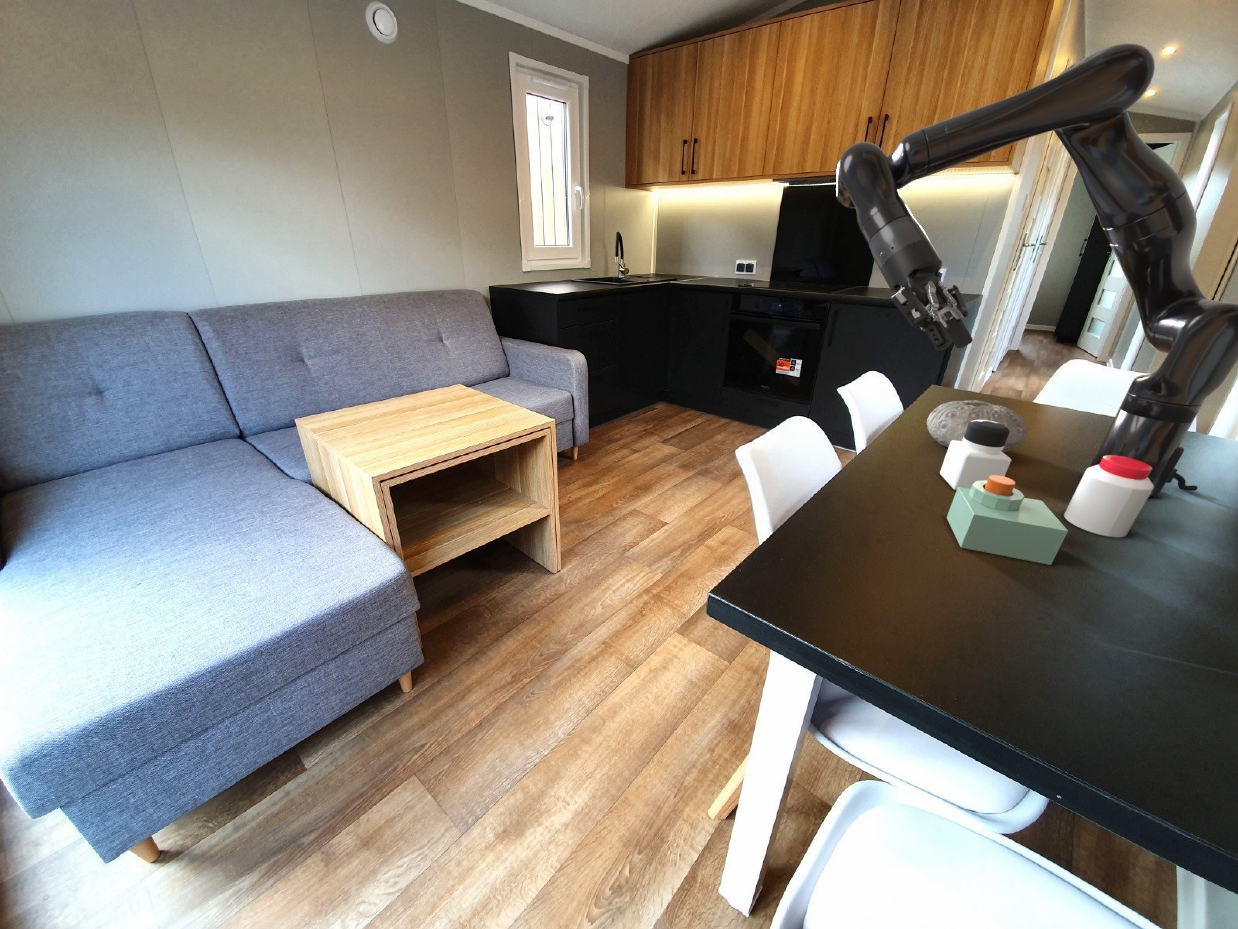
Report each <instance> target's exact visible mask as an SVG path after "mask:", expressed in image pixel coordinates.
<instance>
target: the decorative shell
mask: <svg viewBox="0 0 1238 929" xmlns="http://www.w3.org/2000/svg"><path fill="white" fill-rule="evenodd" d="M974 420H988V421H993V422H997V423H1000V424H1002V425H1004V426H1006V427H1007V428H1008V429H1009V431H1010V433H1009V435H1008V438H1007V440H1006V443H1005V445H1004V448H1003V450H1001V451H1002V452H1003V453H1004V454H1005V453H1007V452H1009V451H1014V450H1015V449H1017V448H1019V447H1020V446H1022V445H1023V443H1024V442H1025V441H1026V439H1027V438H1028V430H1029V427H1028V426H1027V424H1026V423H1025V417H1023V416H1020V415H1018V414H1017V412H1016V411H1015V410H1012V409H1010V408H1009V407H1006V406H1004V405H998V404H993V403H990V402H986V401H982V400H972V399H970V400H953V401H948V402H943V403H942V404H940V405H938V406H937V407H935V408H934V409H933V410H932V411H931V412H930V414H929V415H928V416H927V419H926V427H927V431H928V432H929V434H930V436H931V437H932V438H933V439H934V441H936V442H937V443H938V444H939V445H941V446H944V447H946V448H949V445H950V442H951V441H952V440H955V441H962V440H963V437H964V434H965V432H966V429H967V426H968V423H969V422H971V421H974Z"/></svg>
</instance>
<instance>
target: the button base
mask: <svg viewBox="0 0 1238 929" xmlns="http://www.w3.org/2000/svg"><path fill="white" fill-rule="evenodd" d="M986 483H987V480H982V481H976V482H974V483H973V485H972V487H971V489H968V488H962V487H958V489H957V490H955V491H956V492H955V495H954V496H953V500H952V502H951V505H950V507H949V510H948V513H947V516H946V520H947V521H948V523H949V526H950V527H951V530H952V532H953V534H954V537H955V538H956V540H957V542H958V545H959V547H960V548H962V549H967V550H972V551H977V552H983V553H988V554H992V555H993V554H994V555H997V556H1003V557H1008V558H1012V559H1013V558H1014V559H1018V560H1023V561H1029V562H1033V563H1038V564H1044V565H1049V566H1051V565H1052V564H1053V562H1054V560H1055V558H1056V556H1057V554H1058V552H1059V550H1060V548H1061V546H1062V544H1063V542H1064V540H1065V538H1066V536H1067V534H1068V532H1069V530H1068V528H1066V527H1065V526H1064V524H1063V523H1062V522H1061V521H1060V520H1059V519H1058V517H1056V515H1055V514H1054V513H1053V512H1052V510H1050V508H1049V507H1048V506H1047V505H1046V503H1045V502H1044V501H1042V500H1040V499H1035V498H1034V499H1033V498H1029V497H1028V498H1027V497H1025V495H1024V494H1023V492H1022V491H1020V490H1019V489H1017V488H1015V487H1014V489H1013V491H1012V493H1011V495H1010V496H1002V495H997V494H994V493H991V492H989V491H987V490H985V486H986Z"/></svg>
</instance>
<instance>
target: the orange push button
mask: <svg viewBox="0 0 1238 929" xmlns="http://www.w3.org/2000/svg"><path fill="white" fill-rule="evenodd" d="M1015 486H1016V481H1015V480H1014V479H1012V478H1010V477H1008V476H1007V477H1006V476H1005V477H1004V476H999V475H991V476H989V478H988V481H987V483H986V486H985V490H987V491H989V492H991V493H994V494H997V495H1002V496H1010V495H1011V493H1012V491H1013V489H1014V488H1015Z"/></svg>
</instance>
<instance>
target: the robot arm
mask: <svg viewBox="0 0 1238 929" xmlns="http://www.w3.org/2000/svg"><path fill="white" fill-rule="evenodd" d="M1155 70H1156V66H1155V58H1154V56H1153V54H1152V52H1151V51H1150V50H1149V49H1148V48H1146V47H1145V46H1144V45H1142V44H1138V43H1129V42H1128V43H1127V42H1125V43H1117V44H1114V45H1113V44H1112V45H1109V46H1107V47H1105V48H1102V49H1100V50H1097V51H1095V52H1094V53H1092V54H1090V55H1088V56H1086V57H1084V58H1082V59H1080V60H1078V61H1077V62H1075V63H1073V64H1071V65H1070V66H1068V67H1066V68H1065V69H1064V70H1063V71H1062V72H1061V73H1059V75H1057V76H1055V77H1054V78H1051V79H1049V80H1047V81H1044V82H1043V83H1040V84H1038V85H1036V86H1034V87H1032V88H1029V89H1026V90H1024V91H1022V92H1019V93H1017V94H1014V95H1011V96H1009V97H1007V98H1004V99H1000V100H998V101H995V102H992V103H990V104H986V105H983V106H981V107H978V108H974V109H972V110H968V111H966V112H963V113H959V114H957V115H954V116H951V117H948V118H945V119H942V120H940V121H938V122H935V123H933V124H930V125H927V126H925V127H922V128H920V129H917V130H915V131H912V132H910V133H908V134H906V135H905V136H903V137H902V138H901V139H900V141H899V142H898V144H897V145H896V148H895V149H894V150H893V151H892V153H890V154H889V155H886V153H885V152H884V150H883V149H882V148H881V147H880V146H878V145H877V144H875V143H873V142H870V141H859V142H856V143H854V144H852V145H850V146H848V147H847V149H846V150H844V152H842V155H841V156H840V158H839V160H838V162H837V165H836V166H837V167H836V188H835V190H836V194H835V195H836V198H837V202H838V203H839V204H840V205H841V206H842V207H845V208H848V209H855V211H856V219H857V220H856V221H857V225H858V228H859V230H860V232H861V234H862V236H863V238H864V240H865V242H866V243H867V245H868V248H869V249H870V252H871V255H872V257H873V260H874V262H875V263H876V266H877V267H878V269H879V271H880V273H881V274H882V276H883V279H884V280H885V282H886V284H887V286H888V288H889V289H890V291H891V292H892V293H893V295H892V296H891V297H890V299H891V301H892V302H893V303H894V305H895V306H896V308H897V309H898V310H899V312H900V313H901V314H902V315H903V317H904V318H905V319H906V321H907V322H908V324H909V325H910V326H911V327H912V328H914V329H917V327H919V329H920V330H921V331H923V332H926V335H927V337H928V339H929V340H930V342H931V344H932V345H933V347H934V349H935V350H936V351H938V352H940V351H944V350H945V349H947V348H948V347H951V346H952V344H954V346H955V348H956V349H963V348H965V347H966V346H969V345H970V344H972V343H973V342H974V339H973V337H972V335H971V334H970V331H969V329H968V328H967V327H966V325H965V323H964V321H963V320H965V318H967V317H968V316H969V311H968V309H967V307H966V304H965V301H964V299H963V297H962V294H961V292H960V289H959V287H958V286H957V285H956V284H953V285H952V286H950V287H947V286H946V284H945V283H944V282H943V281H942V280H941V279H940V278H939V276H938V275H939V272H940V271H941V269H942V267H943V260H942V258H941V256H940V255H939V253H938V252H937V250H936V248H935V247H934V245H933V243H932V241H931V240H930V238H929V237H928V235H927V233H926V231H925V230H924V228H923V227H922V225H921V224H920V223H919V222H918V221H917V219H916V218H915V217H914V215H913V214H912V211H911V210H910V209H909V207H908V205H907V203H906V202H905V200H904V199H903V198H902V196H901V193H900V191H899V190H901V189H902V188H904V187H906V186H907V185H909V184H910V183H913V182H914V181H916V180H920V179H923V178H927V177H929V176H932V175H935V174H938V173H940V172H943V171H946V170H949V169H952V168H954V167H956V166H957V167H958V166H960V165H963V164H964V163H967V162H969V161H970V162H971V161H972V160H975V159H978V158H980V157H981V156H984V155H986V154H989V153H991V152H994V151H997V150H999V149H1002V148H1004V147H1007V146H1009V145H1013V144H1015V143H1017V142H1021V141H1024V140H1026V139H1029V138H1032V137H1036V136H1039V135H1042V134H1045V133H1049V132H1054V134H1055V135H1056V136H1057V138H1058V139H1059V141H1060V142H1061V144H1062V146H1063V147H1064V149H1065V150H1066V152H1067V153H1068V154H1069V156H1070V157H1071V159H1072V161H1073V163H1074V164H1075V166H1076V168H1077V170H1078V172H1079V175H1080V176H1081V179H1082V182H1083V184H1084V187H1085V189H1086V192H1087V195H1088V197H1089V199H1090V201H1091V204H1092V207H1093V208H1094V210H1095V212H1096V215H1097V218H1098V221H1099V223H1100V227H1101V228H1102V230H1103V232H1104V234H1105V237H1106V239H1107V242H1108V243H1109V246H1110V247H1111V250H1112V251H1113V253H1114V255H1115V257H1116V259H1117V261H1118V264H1119V266H1120V268H1121V270H1122V273H1123V276H1124V277H1125V279H1126V281H1127V283H1128V285H1129V288H1130V290H1131V291H1132V294H1133V297H1134V300H1135V303H1136V304H1135V305H1136V307H1137V311H1138V314H1139V318H1140V322H1141V326H1142V331H1143V333H1144V334H1143V335H1145V339H1146V341H1147V342H1148V344H1149V346H1151V347H1152V348H1153V349H1154V350H1156V351H1158V352H1160V353H1162V354H1165V355H1166V356H1165V358H1164V360H1163V362H1162V363H1161V365H1160V366H1159V367H1158V369H1157V370H1155V371H1154V372H1152V373H1149V374H1141V375H1138V376H1136V377H1135V378H1134V379H1133V380H1132V382H1131V383H1130V386H1129V388H1128V389H1127V392H1126V393H1125V396H1124V398H1123V400H1122V401H1121V403H1120V405H1119V408H1118V410H1117V411H1116V414H1115V416H1114V418H1113V420H1112V422H1111V424H1110V426H1109V428H1108V430H1107V432H1106V433H1105V436H1104V438H1103V440H1102V442H1101V444H1100V446H1099V448H1098V450H1097V452H1096V454H1095V456H1094V458H1093V460H1092V461H1091V464H1090V466H1089V467H1092V466H1095V465H1099V464H1100V462H1101V460H1102V458H1103V456H1105V455H1116V456H1123V457H1127V458H1132V459H1135V460H1138V461H1141V462H1144V463H1146V464H1148V465H1150V466H1151V467H1152V470H1151V472H1150V474H1149V476H1148V478H1149V479H1150V481H1151V482H1152V484H1153V485H1154V488H1153V490H1152V492H1151V493H1150V495H1149V497H1151V498H1153V497H1154V498H1158V497H1159V495H1160V494H1161V492H1162V490H1163V489H1164V487H1165V485H1166V484H1171V483H1172V481H1173V480H1174V479H1175V480H1176V481H1177V487H1178V489H1180V490H1181V491H1185V492H1187V491H1189V492H1190V491H1192V492H1193V491H1194V492H1195V491H1197V490H1198V486H1197V485H1192V484H1191V485H1186V484H1187V483H1186V479H1185V477H1184V476H1183V475H1181V474H1180V473H1178V469H1176V466H1177V464H1178V463H1179V461H1180V459H1181V458H1182V455H1183V454H1184V452H1185V448H1184V447H1183V446H1181V444H1182V442H1183V440H1184V438H1185V437H1186V435H1187V434H1188V432H1189V430H1190V428H1191V427H1192V424H1193V423H1194V421H1195V419H1196V418H1197V416H1198V414H1199V413H1200V410H1201V409H1202V408H1203V405H1204V403H1205V402H1206V400H1207V398H1208V397H1210V395H1211V394H1214V392H1216V391H1217V390H1218V389H1219V388H1220V387H1221V386H1222V385H1223V384H1224V382H1225V381H1226V380H1227V378H1228V377H1229V375H1230V374H1231V373H1232V371H1233V369H1234V367H1235V366H1236V365H1237V363H1238V303H1236V302H1229V301H1221V300H1214V299H1213V300H1212V299H1208V298H1207V296H1205V295H1204V293H1203V292H1202V290H1201V288H1200V286H1199V285H1198V283H1197V281H1196V278H1195V276H1194V274H1193V271H1192V268H1191V259H1190V258H1191V254H1192V249H1193V245H1194V242H1195V237H1196V233H1197V228H1198V220H1197V214H1196V211H1195V207H1194V205H1193V203H1192V200H1191V197H1190V194H1189V191H1188V189H1187V188H1186V185H1185V183H1184V181H1183V179H1182V177H1181V176H1180V175H1179V173H1178V172H1177V170H1175V169H1174V168H1173V167H1172V166H1171V165H1170V164H1169V163H1168V162H1167V161H1166V160H1165V159H1164V158H1163V157H1162V156H1160V154H1158V153H1157V152H1156V151H1155V150H1154V149H1152V148H1151V147H1150V146H1149V145H1148V144H1147V143H1145V141H1144V140H1143V139H1142V138H1141V137H1140V135H1139V134H1138V133H1137V131H1136V129H1135V127H1134V125H1133V123H1132V120H1131V117H1130V115H1129V112H1128V110H1129V109H1130V108H1131V107H1132V106H1134V105H1135V104H1136V103H1137V102H1138V101H1139V100H1140V99H1141V98H1142V97H1143V95H1144V94H1145V93H1146V92H1147V90H1148V88H1149V87H1150V85H1151V83H1152V80H1153V77H1154V76H1155ZM940 308H941V309H940ZM939 309H940V310H939ZM1149 497H1148V498H1149Z"/></svg>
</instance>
